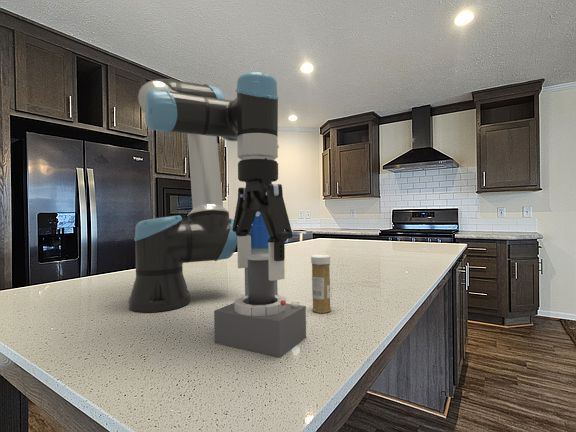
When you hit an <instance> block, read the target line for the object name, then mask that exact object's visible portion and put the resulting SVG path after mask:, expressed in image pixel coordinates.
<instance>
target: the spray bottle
mask: <svg viewBox="0 0 576 432" xmlns="http://www.w3.org/2000/svg"><path fill="white" fill-rule="evenodd" d="M250 231H251V234H252V235H249V236H251V254H269V253H268V240H269V238H270V235H269V233H268V230H267V228H266V225H265V222H264V220H263V217H262V215H261V213H260V212H256V215H255V218H254V221H253V223H252V226H251V229H250ZM278 289H279V288H278V280H275V295H278ZM244 296H248V268H244Z"/></svg>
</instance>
